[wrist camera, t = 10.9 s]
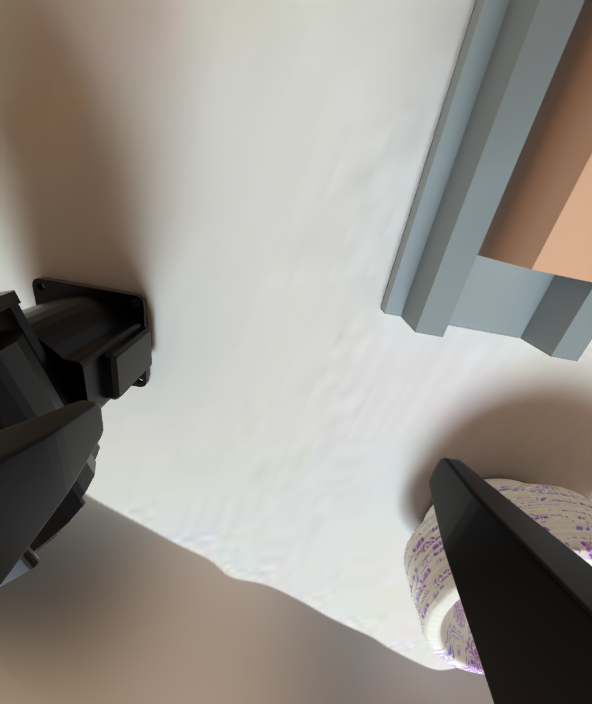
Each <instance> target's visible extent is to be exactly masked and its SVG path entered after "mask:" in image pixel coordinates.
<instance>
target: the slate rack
mask: <svg viewBox="0 0 592 704" xmlns="http://www.w3.org/2000/svg"><path fill="white" fill-rule="evenodd" d="M584 1H585V0H476V4H475V7H474V10H473V13H472V16H471V20H470V23H469V26H468V29H467V33H466V36H465V39H464V42H463V45H462V49H461V52H460V55H459V58H458V61H457V65H456V68H455V71H454V74H453V77H452V81H451V84H450V87H449V90H448V93H447V97H446V100H445V103H444V106H443V109H442V113H441V116H440V119H439V122H438V126H437V129H436V132H435V135H434V138H433V142H432V145H431V148H430V151H429V154H428V158H427V161H426V164H425V167H424V170H423V174H422V177H421V180H420V183H419V186H418V190H417V193H416V196H415V199H414V202H413V206H412V209H411V212H410V215H409V219H408V222H407V225H406V228H405V231H404V235H403V238H402V241H401V244H400V247H399V251H398V254H397V257H396V260H395V263H394V267H393V270H392V273H391V276H390V279H389V283H388V286H387V289H386V292H385V296H384V299H383V302H382V305H381V310H382V311H383V312H384V313H385V314H390V315H396V316H401V317H402V318H403V319H404V320H405V322H406V323H407V324H408V325H409V326H410V327H411V328H412V329H413V330H414V332H418V333H423V334H429V335H434V336H440V337H443V335H444V333H445V331H446V328H447V326H448V325H451V326H456V327H462V328H467V329H473V330H478V331H484V332H489V333H495V334H500V335H506V336H511V337H517V338H521V339H523V340H524V341H526V342H528V343H529V344H531V345H533V346H534V347H536V348H538V349H539V350H541V351H543V352H544V353H546V354H548V355H549V356H551V357H557V358H562V359H568V360H573V361H578V359H579V358H580V356H581V355H582V353H583V352H584V350H585V349H586V347H587V346H588V344H589V343H590V341H591V340H592V282H588V281H583V280H579V279H574V278H569V277H564V276H560V275H555V274H550V273H545V272H541V271H536V270H531V269H527V268H524V267H520V266H516V265H512V264H509V263H505V262H501V261H498V260H494V259H490V258H486V257H483V256H479V255H478V252H479V250H480V248H481V245H482V243H483V241H484V238H485V236H486V233H487V231H488V229H489V226H490V224H491V222H492V219H493V217H494V214H495V212H496V210H497V207H498V205H499V203H500V200H501V198H502V196H503V193H504V191H505V188H506V186H507V184H508V181H509V179H510V177H511V174H512V172H513V169H514V167H515V165H516V162H517V160H518V158H519V155H520V153H521V150H522V148H523V146H524V143H525V141H526V139H527V136H528V134H529V132H530V129H531V127H532V124H533V122H534V120H535V117H536V115H537V113H538V110H539V108H540V105H541V103H542V101H543V98H544V96H545V94H546V91H547V89H548V86H549V84H550V82H551V79H552V77H553V75H554V72H555V70H556V68H557V65H558V63H559V60H560V58H561V56H562V53H563V51H564V49H565V46H566V44H567V41H568V39H569V37H570V34H571V32H572V30H573V27H574V25H575V22H576V20H577V18H578V15H579V13H580V11H581V8H582V6H583V4H584Z"/></svg>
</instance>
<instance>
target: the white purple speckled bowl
mask: <svg viewBox="0 0 592 704" xmlns="http://www.w3.org/2000/svg"><path fill="white" fill-rule="evenodd" d="M484 480H485V481H486V482H487V483H489V484H490V485H491V486H492V487H494V488H495V489H496V490H497V491H499V492H500V493H501V494H502V495H504V496H505V497H506V498H507V499H509V500H510V501H511V502H512V503H514V504H515V505H516V506H517V507H519V508H520V509H521V510H522V511H524V512H525V513H526V514H527V515H529V516H530V517H531V518H532V519H534V520H535V521H536V522H537V523H539V524H540V525H541V526H542V527H544V528H545V529H546V530H547V531H549V532H550V533H551V534H552V535H554V536H555V537H556V538H557V539H559V540H560V541H561V542H562V543H564V544H565V545H566V546H567V547H569V548H570V549H571V550H573V551H574V552H575V553H576V554H578V555H579V556H580V557H581V558H583V559H584V560H585V561H586V562H588V563H589V564H590V565H591V566H592V502H591V501H590V500H589V499H588V498H587V497H585V496H583V495H581V494H579V493H577V492H575V491H572V490H569V489H566V488H563V487H560V486H552V485H544V484H526V483H523V482H520V481H516V480H510V479H484ZM404 567H405V572H406V577H407V581H408V584H409V587H410V591H411V595H412V598H413V602H414V604H415V608H416V611H417V614H418V616H419V620H420V624H421V629H422V632H423V634H424V637H425V639H426V641H427V643H428V645H429V646H430V647H431V649H432V650H433V652H434V653H435V654H436V655H437V656H438V657H440V658H441V659H442V660H444V661H445V662H447V663H449V664H451V665H453V666H455V667H457V668H460V669H463V670H465V671H469V672H473V673H479V674H484V671H483V668H482V665H481V662H480V659H479V656H478V653H477V650H476V646H475V643H474V640H473V637H472V634H471V631H470V628H469V625H468V622H467V619H466V616H465V613H464V610H463V607H462V604H461V601H460V597H459V594H458V591H457V588H456V585H455V582H454V579H453V576H452V573H451V570H450V567H449V564H448V561H447V558H446V554H445V551H444V548H443V544H442V540H441V537H440V532H439V528H438V523H437V519H436V514H435V510H434V506H433V505H432V506H431V508H430V509H429V510H428V512H427V514H426V516H425V518H424V520H423V523H421V525H420V526H419V527H418V528H417V529H416V530H415V532H414V533H413V534H412V536H411V537H410V539H409V541H408V543H407V545H406V548H405V553H404ZM484 675H485V674H484Z"/></svg>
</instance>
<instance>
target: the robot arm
mask: <svg viewBox="0 0 592 704" xmlns="http://www.w3.org/2000/svg"><path fill="white" fill-rule="evenodd" d="M42 283H43V284H44V285H45V287H46V289H45V288H44V287H43V286H42ZM32 286H33V291H34V296H35V301H36V306H33V307H31V308H28V309H25V310H21V308H20V306H19V303H21V302H20V300H19V298H18V296H17V294H16V293H15V291H14V290H12V291H5V292H0V587H1V586H2V585H4V584H6V583H8V582H9V581H11V580H13V579H15V578H17V577H19V576H20V575H22V574H24V573H25V572H27V571H29V570H31V569H32V568H34V567H35V566H36V565H37V564H38V562H39V557H38V556H37V555H36V554H35V552H36V551H37V550H39V549H40V548H42V547H43V546H44V545H45V544H47V543H48V542H49V541H50V540H51V539H53V538H54V537H55V536H56V535H57V534H58V533H59V532H60V531H61V530H62V529H63V528H64V527H65V526H66V525H68V524H69V523H70V521H71V520H72V519H73V518H74V517H75V516H76V515H77V513H78V512H79V511H80V510H81V509H82V507H83V505H84V504H85V498H84V497H83V495H84V494H85V492H86V490H87V488H88V487H89V485H90V483H91V481H92V479H93V477H94V475H95V465H96V461H95V459H96V456H97V454H98V451H99V449H100V446H99V445H98V441H99V440H100V438H101V436H102V433H103V421H102V413H101V408H102V407H103V406H104V405H105V404H106V403H107V402H108V401H109V400H110V399H114V400H116V399H118V398H119V397H121V396H122V395H123V394H124V393H125V392H126V391H127V390H128V389H129V388H130V387H131V386H138V387H143V386H145V385H146V384H147V383H148V381H149V367H150V366H151V364H152V357H151V332H150V330H149V329H148V325H147V302H146V299H145V298H144V297H143V296H142V295H140V294H137V293H131V292H126V291H120V290H114V289H109V288H103V287H98V286H92V285H86V284H81V283H75V282H69V281H64V280H58V279H52V278H47V277H41V278H37V279H35V280H34V281H33V282H32ZM135 299H136V300H138V302H139V304H140V305H139V306H138V305H136V304H135V302H134V300H135ZM139 378H141V379H142V380H143V381H141V380H140V379H139ZM429 488H430V492H431V497H432V501H433V506H434V510H435V514H436V519H437V523H438V528H439V532H440V537H441V540H442V544H443V548H444V551H445V554H446V558H447V561H448V564H449V567H450V570H451V573H452V576H453V579H454V582H455V585H456V588H457V591H458V594H459V597H460V601H461V604H462V607H463V610H464V613H465V616H466V619H467V622H468V625H469V628H470V631H471V634H472V637H473V640H474V643H475V646H476V650H477V653H478V656H479V659H480V662H481V665H482V668H483V671H484V674H485V677H486V680H487V683H488V686H489V689H490V692H491V695H492V698H493V702H494V704H592V566H591V565H590V564H589V563H588V562H586V561H585V560H584V559H583V558H581V557H580V556H579V555H578V554H576V553H575V552H574V551H573V550H571V549H570V548H569V547H567V546H566V545H565V544H564V543H562V542H561V541H560V540H559V539H557V538H556V537H555V536H554V535H552V534H551V533H550V532H549V531H547V530H546V529H545V528H544V527H542V526H541V525H540V524H539V523H537V522H536V521H535V520H534V519H532V518H531V517H530V516H529V515H527V514H526V513H525V512H524V511H522V510H521V509H520V508H519V507H517V506H516V505H515V504H514V503H512V502H511V501H510V500H509V499H507V498H506V497H505V496H504V495H502V494H501V493H500V492H499V491H497V490H496V489H495V488H494V487H492V486H491V485H490V484H489V483H487V482H486V481H485V480H484V479H482V478H481V477H480V476H479V475H477V474H476V473H475V472H474V471H472V470H471V469H470V468H469V467H467V466H466V465H465V464H464V463H462V462H461V461H460V460H458V459H455V458H449V457H442V458H441V459H440V460H439V461H438V463H437V465H436V467H435V469H434V471H433V473H432V475H431V477H430V480H429Z"/></svg>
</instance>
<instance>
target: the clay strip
mask: <svg viewBox="0 0 592 704" xmlns="http://www.w3.org/2000/svg"><path fill="white" fill-rule="evenodd" d="M478 255H479V256H483V257H486V258H490V259H494V260H498V261H501V262H505V263H509V264H512V265H516V266H520V267H524V268H527V269H531V270H536V271H541V272H545V273H550V274H555V275H560V276H564V277H569V278H574V279H579V280H583V281H588V282H592V0H585V1H584V4H583V6H582V8H581V11H580V13H579V15H578V18H577V20H576V22H575V25H574V27H573V30H572V32H571V34H570V37H569V39H568V41H567V44H566V46H565V49H564V51H563V53H562V56H561V58H560V60H559V63H558V65H557V68H556V70H555V72H554V75H553V77H552V79H551V82H550V84H549V86H548V89H547V91H546V94H545V96H544V98H543V101H542V103H541V105H540V108H539V110H538V113H537V115H536V117H535V120H534V122H533V124H532V127H531V129H530V132H529V134H528V136H527V139H526V141H525V143H524V146H523V148H522V150H521V153H520V155H519V158H518V160H517V162H516V165H515V167H514V169H513V172H512V174H511V177H510V179H509V181H508V184H507V186H506V188H505V191H504V193H503V196H502V198H501V200H500V203H499V205H498V207H497V210H496V212H495V214H494V217H493V219H492V222H491V224H490V226H489V229H488V231H487V233H486V236H485V238H484V241H483V243H482V245H481V248H480V250H479V252H478Z"/></svg>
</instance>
